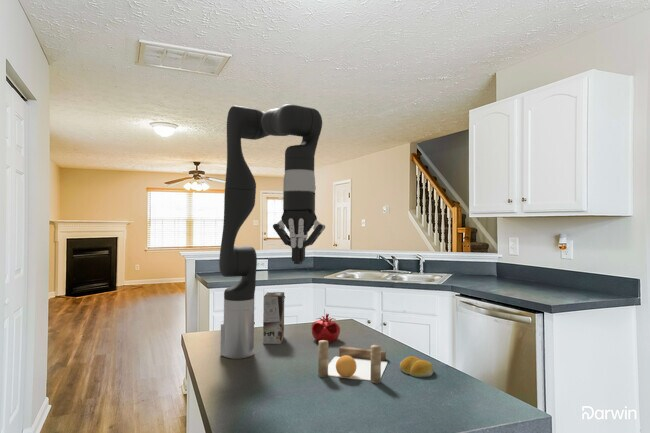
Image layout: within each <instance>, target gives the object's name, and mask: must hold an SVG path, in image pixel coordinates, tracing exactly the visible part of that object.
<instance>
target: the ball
mask: <svg viewBox="0 0 650 433" xmlns="http://www.w3.org/2000/svg"><path fill="white" fill-rule="evenodd" d="M339 357H340V358H339V359H338V360H337V362H336V370H337V372H338V374H339V375H341V376H342V377H350V376H352V375H353V374H354V373H355V371H356V362H355V360H354V359H353V358H352V357H351V356H348V355H344V356H339ZM342 377H341V378H342Z"/></svg>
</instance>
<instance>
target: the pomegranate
mask: <svg viewBox="0 0 650 433" xmlns="http://www.w3.org/2000/svg"><path fill="white" fill-rule="evenodd" d="M329 316H330V314H329V313H326V314H325V316H322V315H321V317H318V318H316V321H314V322H313V323H312V324H311V329H310V330H311V334H312V337H313V338H314V340H315V341H317V342H318V343H319V341H320V340H327V341H328V343H333V342H336V341H337V340H338V339H339V336H340V333H341V327H340V325H339V324H338V323H337V322H336V321H335V320H336V318H333V317H331V316H330V317H329ZM333 320H334V321H333Z"/></svg>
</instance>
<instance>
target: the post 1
mask: <svg viewBox="0 0 650 433" xmlns="http://www.w3.org/2000/svg"><path fill="white" fill-rule="evenodd" d="M317 363H318V376H319V377H321V378H327V377H329V376H328V364H329V342H328V341H327V340H320V341H319V342H318V362H317Z"/></svg>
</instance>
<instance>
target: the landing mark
mask: <svg viewBox="0 0 650 433" xmlns="http://www.w3.org/2000/svg"><path fill="white" fill-rule="evenodd" d="M340 357H341V356H337V355H336V356H334V357H333V358H332V359H331V360H330V362H328V376H327V377H335V378H342V379H343V378H344V379H351V380H361V381H368V382H371V360H370V359H360V358H353V359H354V360H355V362H356V371H355V373H354V374H353V375H352V376H350V377H342V376H341V375H339V374H338V372H337V370H336V362H337V360H338V359H339V358H340ZM387 365H388V361H386V360H385V361H381V378H382V377H383V374H384V372H385V369H386V367H387Z"/></svg>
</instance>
